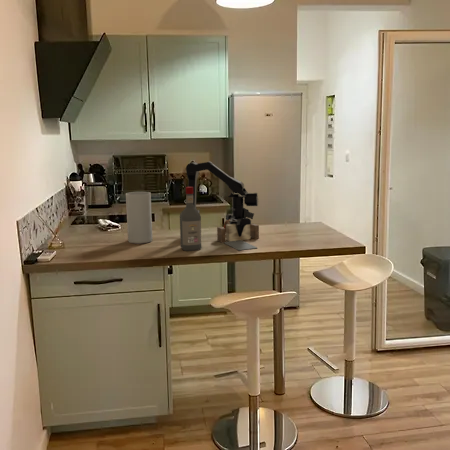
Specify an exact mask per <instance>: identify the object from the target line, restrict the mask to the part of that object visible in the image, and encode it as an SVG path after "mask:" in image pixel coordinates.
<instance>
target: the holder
mask: <svg viewBox="0 0 450 450" xmlns="http://www.w3.org/2000/svg"><path fill="white" fill-rule="evenodd" d="M216 233H217V236H216V237H217V238H216V239H217V242H219V243H223V244H224V242H227V240H226V234H225V228H224V226H217V228H216ZM259 234H260V226H259V225H258V224H256V223H251V224H250V238H252V239H255V240H258V239H260V235H259Z"/></svg>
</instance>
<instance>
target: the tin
mask: <svg viewBox="0 0 450 450" xmlns="http://www.w3.org/2000/svg"><path fill="white" fill-rule="evenodd" d="M229 221H230V219H229V220H226V219H225V221H224V223H223V228H225V235H226V225H228V224H230V223H229Z"/></svg>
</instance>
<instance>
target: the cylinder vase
mask: <svg viewBox="0 0 450 450" xmlns="http://www.w3.org/2000/svg"><path fill="white" fill-rule="evenodd" d="M151 196H152V193H151V191H150V192H149V191H130V192H126V193H125V206H126V207H125V208H126V224H127V225H126V226H127V241H128V243H130V244H138V245H139V244H148V243H151V242H152V241H153V223H152V221H153V219H152V197H151Z"/></svg>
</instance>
